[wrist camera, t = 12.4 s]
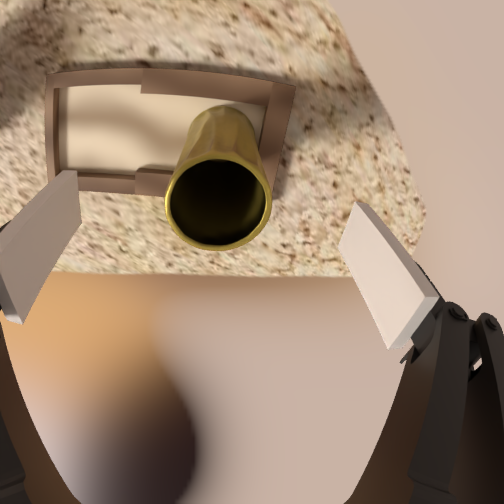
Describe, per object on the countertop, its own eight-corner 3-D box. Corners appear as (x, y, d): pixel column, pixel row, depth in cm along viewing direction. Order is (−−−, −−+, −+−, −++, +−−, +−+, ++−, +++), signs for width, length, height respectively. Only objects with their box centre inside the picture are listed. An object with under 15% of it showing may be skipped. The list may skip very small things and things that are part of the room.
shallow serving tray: (54, 73, 19) (46, 74, 18) (292, 85, 23) (296, 86, 22) (55, 183, 26) (48, 189, 25) (266, 202, 30) (268, 208, 29)
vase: (185, 166, 27) (156, 255, 15) (190, 103, 23) (154, 140, 12) (249, 171, 28) (270, 262, 16) (259, 109, 24) (293, 151, 13)
